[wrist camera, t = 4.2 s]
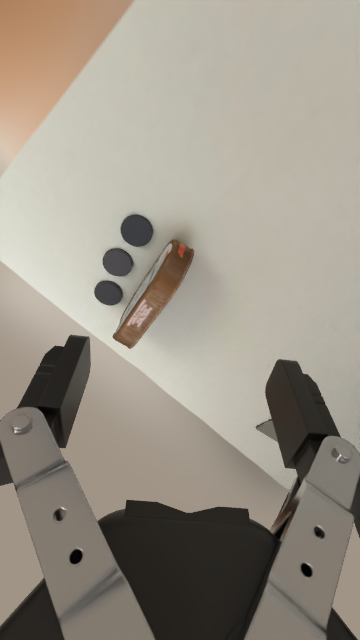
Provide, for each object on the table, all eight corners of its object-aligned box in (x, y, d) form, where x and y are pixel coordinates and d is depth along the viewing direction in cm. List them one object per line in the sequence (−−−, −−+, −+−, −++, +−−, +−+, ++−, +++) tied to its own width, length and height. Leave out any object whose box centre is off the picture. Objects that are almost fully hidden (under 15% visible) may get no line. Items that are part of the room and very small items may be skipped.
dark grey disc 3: (117, 235, 37) (116, 237, 36) (128, 208, 35) (127, 210, 34) (145, 249, 38) (144, 251, 37) (157, 224, 35) (157, 226, 35)
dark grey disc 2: (92, 295, 43) (90, 298, 42) (100, 276, 40) (99, 278, 40) (116, 306, 43) (115, 309, 43) (126, 287, 41) (125, 290, 41)
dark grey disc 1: (100, 266, 39) (98, 268, 39) (109, 243, 37) (108, 245, 37) (126, 278, 40) (125, 280, 40) (137, 256, 38) (136, 259, 38)
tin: (138, 319, 45) (126, 363, 38) (118, 309, 44) (103, 353, 37) (197, 238, 36) (195, 276, 30) (174, 223, 35) (167, 260, 29)
